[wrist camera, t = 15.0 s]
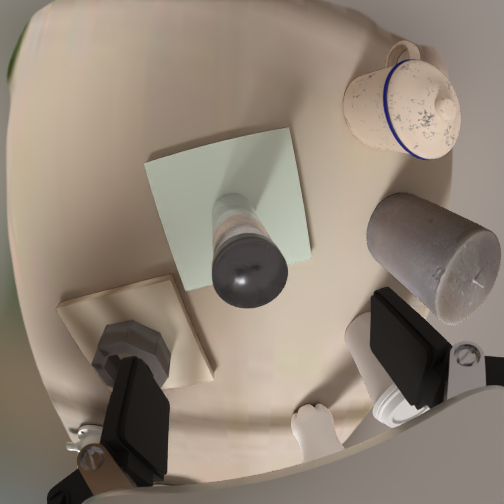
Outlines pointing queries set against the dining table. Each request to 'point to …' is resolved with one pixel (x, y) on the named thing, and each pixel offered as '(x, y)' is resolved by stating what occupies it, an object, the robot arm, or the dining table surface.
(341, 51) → the dining table surface
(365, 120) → the teacup with lid
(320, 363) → the dining table surface
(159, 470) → the robot arm
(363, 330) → the coffee cup
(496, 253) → the pillar candle
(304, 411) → the water bottle
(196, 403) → the dining table surface
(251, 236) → the steel peg
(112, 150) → the dining table surface
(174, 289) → the block
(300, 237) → the sage pad
